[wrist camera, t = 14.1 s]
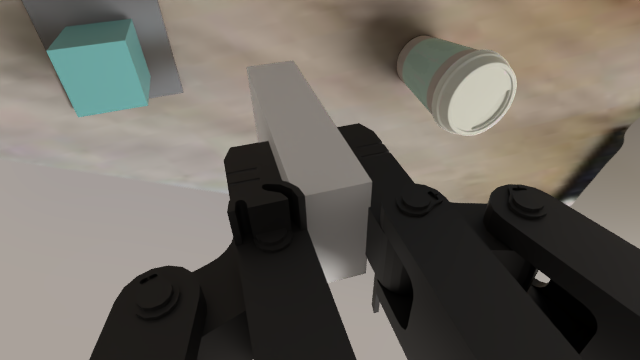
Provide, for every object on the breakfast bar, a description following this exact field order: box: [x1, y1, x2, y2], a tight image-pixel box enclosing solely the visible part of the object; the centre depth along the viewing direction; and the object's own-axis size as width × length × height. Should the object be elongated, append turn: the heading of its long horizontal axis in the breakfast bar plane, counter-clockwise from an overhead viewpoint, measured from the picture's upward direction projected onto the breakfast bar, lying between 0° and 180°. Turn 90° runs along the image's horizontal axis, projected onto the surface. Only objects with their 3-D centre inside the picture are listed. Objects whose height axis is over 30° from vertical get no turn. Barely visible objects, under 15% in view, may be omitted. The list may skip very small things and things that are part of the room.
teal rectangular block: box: [46, 19, 151, 117], centre depth 31 cm, size 5×5×7 cm
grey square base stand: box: [22, 0, 183, 98], centre depth 32 cm, size 10×10×7 cm
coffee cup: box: [397, 36, 517, 136], centre depth 41 cm, size 8×8×12 cm
